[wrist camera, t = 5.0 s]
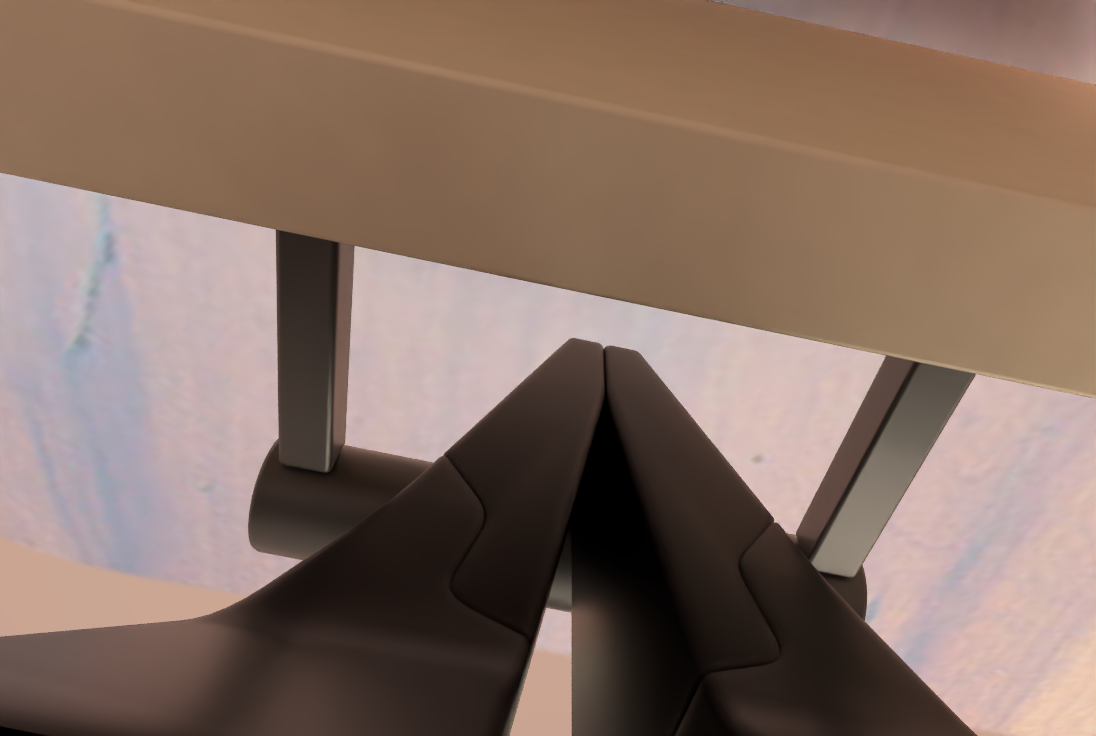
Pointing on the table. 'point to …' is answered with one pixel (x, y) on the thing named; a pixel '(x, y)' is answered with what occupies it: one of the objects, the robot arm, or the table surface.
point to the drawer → (592, 197)
